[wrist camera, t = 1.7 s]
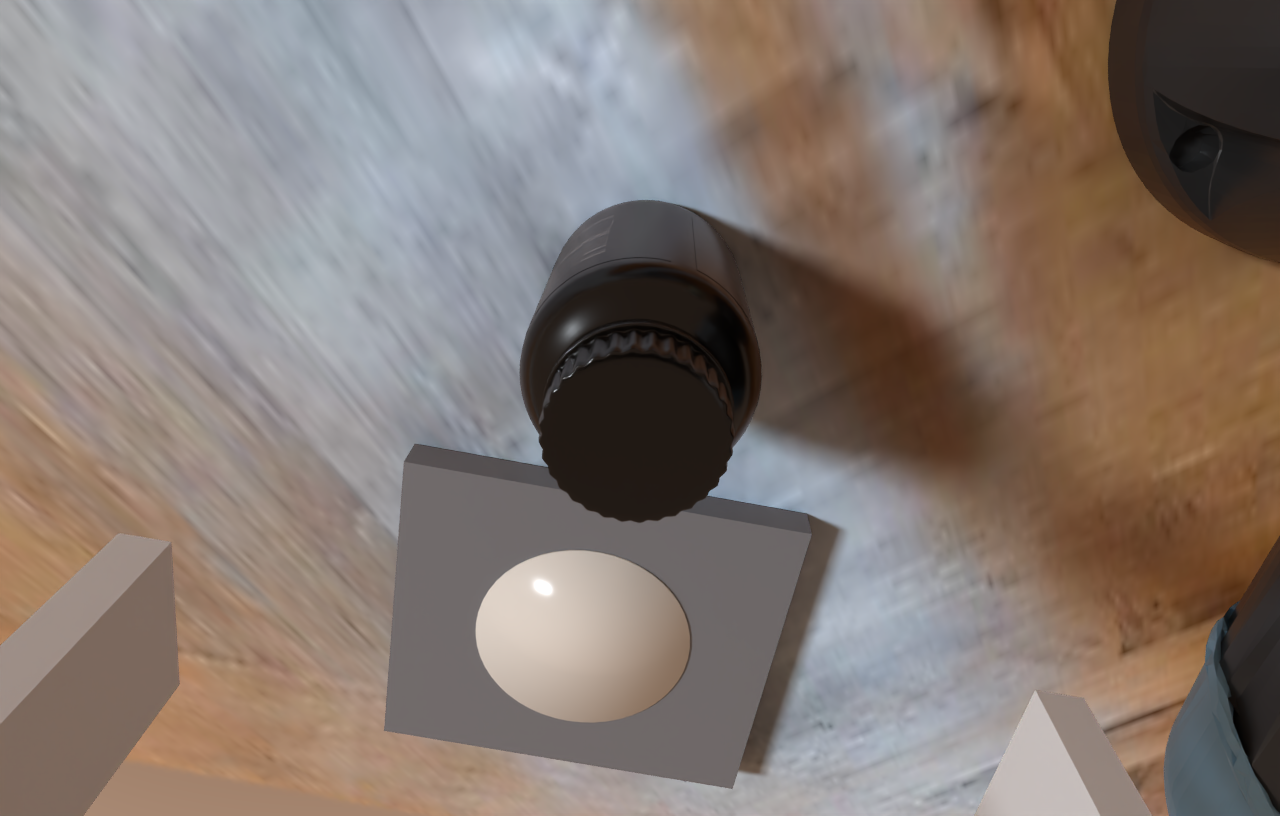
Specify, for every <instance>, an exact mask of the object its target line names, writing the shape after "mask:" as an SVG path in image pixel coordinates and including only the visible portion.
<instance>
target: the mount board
mask: <svg viewBox="0 0 1280 816" xmlns="http://www.w3.org/2000/svg"><path fill="white" fill-rule="evenodd" d="M811 536H812V533H811V529H810V524H809V520H808V516H807V514H804V513H799V512H793V511H788V510H782V509H776V508H771V507H765V506H760V505H754V504H748V503H743V502H737V501H732V500H726V499H720V498H715V497H709V496H707V497H706V498H705V499H703V500H701V501H698V502H696V504H695V505H694V506H693V507H692V508H691V509H688V510H683V511H681V512H680V513H679V514H678V515H676V516H672V517H664V518H663V519H661V520H659V521H651V520H647V521H645V522H642V523H637V522H634V521H625V522H621V521H618V520H617V519H615V518H605V517H602V516H601V515H600V514H599V513H597V512H593V511H588V510H586V509H585V508H584V506H583V505H582V504H580V503H577V502H575V501H572V499H571V498H570V497H569V495H568V493H566V492H564V491H563V490H561V489H560V488H559V486H558V483H557V480H555V479H554V478H553V477H552V476H551V475H550V474H549V469H548V468H547V467H541V466H536V465H530V464H524V463H519V462H513V461H508V460H502V459H496V458H491V457H485V456H480V455H474V454H468V453H463V452H457V451H452V450H446V449H440V448H435V447H429V446H424V445H418V444H414V446H413V448H412V449H411V451H410V453H409V454H408V456H407V458H406V459H405V461H404V469H403V482H402V496H401V509H400V523H399V537H398V550H397V564H396V577H395V591H394V604H393V618H392V632H391V645H390V659H389V672H388V686H387V699H386V713H385V726H384V731H389V732H395V733H401V734H407V735H413V736H419V737H425V738H431V739H437V740H443V741H449V742H455V743H461V744H467V745H473V746H479V747H485V748H491V749H497V750H503V751H509V752H515V753H521V754H527V755H533V756H539V757H545V758H551V759H557V760H563V761H569V762H575V763H581V764H587V765H593V766H599V767H605V768H611V769H617V770H623V771H629V772H635V773H641V774H647V775H653V776H659V777H665V778H671V779H677V780H683V781H689V782H695V783H701V784H707V785H713V786H719V787H725V788H731V789H733V785H734V782H735V779H736V776H737V773H738V769H739V766H740V763H741V760H742V757H743V753H744V750H745V747H746V744H747V741H748V737H749V734H750V731H751V728H752V725H753V721H754V718H755V715H756V712H757V709H758V705H759V702H760V699H761V696H762V693H763V689H764V686H765V683H766V680H767V677H768V673H769V670H770V667H771V664H772V661H773V657H774V654H775V651H776V648H777V645H778V641H779V638H780V635H781V632H782V629H783V625H784V622H785V619H786V616H787V613H788V609H789V606H790V603H791V600H792V597H793V593H794V590H795V587H796V584H797V581H798V577H799V574H800V571H801V568H802V565H803V561H804V558H805V555H806V552H807V548H808V545H809V542H810V539H811Z"/></svg>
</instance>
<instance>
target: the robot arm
mask: <svg viewBox="0 0 1280 816" xmlns="http://www.w3.org/2000/svg"><path fill="white" fill-rule="evenodd" d="M1108 80H1109V91H1110V100H1111V106H1112V112H1113V117H1114V121H1115V124H1116V128H1117V132H1118V135H1119V137H1120V140H1121V143H1122V146H1123V148H1124V150H1125V153H1126V155H1127V157H1128V159H1129V161H1130V163H1131V165H1132V167H1133V168H1134V170H1135V172H1136V174H1137V175H1138V177H1139V178H1140V179H1141V181H1142V182H1143V184H1144V185H1145V187H1146V188H1147V189H1148V190H1149V191H1150V193H1151V194H1152V195H1153V196H1154V197H1155V198H1156V200H1158V201H1159V202H1160V203H1161V204H1162V205H1163V206H1164V207H1165V208H1166V209H1167V210H1168V211H1169V212H1171V213H1172V214H1173V215H1174V216H1176V217H1177V218H1178V219H1179V220H1181V221H1182V222H1184V223H1186V224H1187V225H1189V226H1190V227H1192V228H1194V229H1195V230H1197V231H1199V232H1201V233H1203V234H1205V235H1207V236H1209V237H1212V238H1214V239H1216V240H1218V241H1221V242H1223V243H1225V244H1227V245H1230V246H1232V247H1234V248H1237V249H1239V250H1241V251H1244V252H1246V253H1249V254H1251V255H1254V256H1257V257H1260V258H1264V259H1267V260H1271V261H1275V262H1280V0H1117V1H1116V5H1115V10H1114V15H1113V20H1112V26H1111V34H1110V42H1109V57H1108ZM179 684H180V683H179V666H178V649H177V631H176V614H175V597H174V579H173V562H172V545H171V542H168V541H162V540H157V539H151V538H145V537H139V536H133V535H127V534H121V533H118V534H117V535H116V536H115V537H114V538H113V539H112V540H111V541H110V542H109V543H108V544H107V545H106V546H105V547H104V548H103V549H102V550H100V551H99V552H98V553H97V554H96V555H95V556H94V557H93V558H92V559H91V560H90V561H89V562H88V563H87V564H86V565H85V566H84V567H83V568H81V569H80V570H79V571H78V572H77V573H76V574H75V575H74V576H73V577H72V578H71V579H70V580H69V581H68V582H67V583H66V584H65V585H64V586H63V587H61V588H60V589H59V590H58V591H57V592H56V593H55V594H54V595H53V596H52V597H51V598H50V599H49V600H48V601H47V602H46V603H45V604H44V605H42V606H41V607H40V608H39V609H38V610H37V611H36V612H35V613H34V614H33V615H32V616H31V617H30V618H29V619H28V620H27V621H26V622H25V623H24V624H22V625H21V626H20V627H19V628H18V629H17V630H16V631H15V632H14V633H13V634H12V635H11V636H10V637H9V638H8V639H7V640H6V641H5V642H3V643H2V644H1V645H0V816H84V814H85V813H86V811H87V810H88V809H89V807H90V806H91V805H92V803H93V802H94V801H95V799H96V798H97V796H98V795H99V794H100V792H101V791H102V790H103V788H104V787H105V785H106V784H107V783H108V781H109V780H110V779H111V777H112V776H113V775H114V773H115V772H116V770H117V769H118V767H119V766H120V765H121V764H122V762H123V761H124V760H125V758H126V757H127V755H128V754H129V753H130V751H131V750H132V749H133V747H134V746H135V745H136V743H137V742H138V740H139V739H140V738H141V736H142V735H143V734H144V732H145V731H146V729H147V728H148V727H149V725H150V724H151V723H152V721H153V720H154V719H155V717H156V716H157V714H158V713H159V712H160V710H161V709H162V708H163V706H164V705H165V704H166V702H167V701H168V699H169V698H170V697H171V695H172V694H173V693H174V691H175V690H176V689H177V687H178V686H179ZM1164 784H1165V796H1166V803H1167V808H1168V813H1169V816H1280V536H1279V538H1278V540H1277V541H1276V543H1275V544H1274V546H1273V548H1272V549H1271V551H1270V553H1269V554H1268V556H1267V558H1266V559H1265V561H1264V563H1263V564H1262V566H1261V567H1260V569H1259V571H1258V572H1257V574H1256V576H1255V577H1254V579H1253V581H1252V582H1251V584H1250V586H1249V587H1248V589H1247V590H1246V592H1245V594H1244V595H1243V597H1242V599H1241V600H1240V601H1238V602H1237V603H1236V604H1234V605H1233V606H1232V607H1230V608H1229V610H1228V611H1227V613H1226V614H1225V616H1224V617H1223V618H1221V619H1220V620H1218V621H1217V622H1216V624H1215V625H1214V627H1213V628H1212V630H1211V632H1210V635H1209V639H1208V642H1207V645H1206V656H1205V664H1204V666H1203V667H1202V669H1201V671H1200V673H1199V675H1198V677H1197V679H1196V681H1195V683H1194V685H1193V687H1192V689H1191V691H1190V693H1189V694H1188V696H1187V698H1186V700H1185V702H1184V704H1183V706H1182V708H1181V710H1180V712H1179V714H1178V716H1177V718H1176V720H1175V722H1174V724H1173V726H1172V729H1171V732H1170V735H1169V739H1168V742H1167V746H1166V752H1165V761H1164ZM974 816H1152V815H1151V813H1150V811H1149V810H1148V808H1147V806H1146V804H1145V803H1144V801H1143V799H1142V798H1141V796H1140V794H1139V792H1138V791H1137V789H1136V787H1135V785H1134V784H1133V782H1132V780H1131V779H1130V777H1129V775H1128V773H1127V772H1126V770H1125V768H1124V767H1123V765H1122V763H1121V761H1120V760H1119V758H1118V756H1117V754H1116V753H1115V751H1114V749H1113V748H1112V746H1111V744H1110V742H1109V741H1108V739H1107V737H1106V735H1105V734H1104V732H1103V730H1102V729H1101V727H1100V725H1099V723H1098V722H1097V720H1096V718H1095V717H1094V715H1093V713H1092V711H1091V710H1090V708H1089V706H1088V704H1087V703H1086V701H1085V699H1084V698H1080V697H1075V696H1069V695H1063V694H1057V693H1051V692H1045V691H1040V690H1035V692H1034V694H1033V696H1032V698H1031V700H1030V702H1029V704H1028V706H1027V708H1026V710H1025V712H1024V714H1023V716H1022V718H1021V720H1020V723H1019V725H1018V727H1017V729H1016V731H1015V733H1014V735H1013V737H1012V739H1011V741H1010V743H1009V745H1008V747H1007V749H1006V751H1005V753H1004V756H1003V758H1002V760H1001V762H1000V764H999V766H998V768H997V770H996V772H995V774H994V776H993V778H992V780H991V782H990V784H989V786H988V789H987V791H986V793H985V795H984V797H983V799H982V801H981V803H980V805H979V807H978V809H977V811H976V813H975V815H974Z"/></svg>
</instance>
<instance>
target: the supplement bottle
mask: <svg viewBox="0 0 1280 816" xmlns="http://www.w3.org/2000/svg"><path fill="white" fill-rule="evenodd" d="M761 379H762V373H761V359H760V351H759V346H758V342H757V338H756V334H755V330H754V326H753V323H752V319H751V315H750V311H749V307H748V304H747V300H746V296H745V292H744V288H743V285H742V281H741V277H740V273H739V270H738V267H737V265H736V262H735V259H734V257H733V255H732V253H731V251H730V249H729V247H728V246H727V244H726V242H725V241H724V240H723V238H722V237H721V236H720V234H719V233H718V232H717V231H716V230H715V229H714V228H713V227H712V226H711V225H710V224H709V223H708V222H706V221H705V220H704V219H703V218H701V217H700V216H698V215H697V214H695V213H693V212H691V211H690V210H687V209H685V208H683V207H681V206H678V205H674V204H671V203H667V202H662V201H654V200H638V201H630V202H624V203H621V204H617V205H614V206H611V207H609V208H606V209H604V210H602V211H600V212H598V213H597V214H595V215H594V216H592V217H591V218H589V219H588V220H587V221H585V222H584V223H583V224H582V225H581V226H580V227H579V228H578V229H577V230H576V231H575V232H574V233H573V234H572V236H571V237H570V238H569V239H568V241H567V242H566V244H565V245H564V247H563V249H562V251H561V253H560V254H559V256H558V259H557V260H556V263H555V265H554V267H553V270H552V272H551V275H550V277H549V279H548V282H547V284H546V287H545V289H544V292H543V294H542V296H541V299H540V301H539V304H538V306H537V308H536V311H535V313H534V316H533V318H532V321H531V323H530V326H529V328H528V331H527V333H526V337H525V340H524V344H523V348H522V353H521V359H520V385H521V392H522V396H523V400H524V404H525V407H526V410H527V412H528V415H529V417H530V419H531V421H532V423H533V425H534V427H535V428H536V430H537V432H538V433H539V443H540V445H541V447H542V449H543V451H542V459H543V460H544V461H545V463H546V464H547V465H548V469H549V474H550V475H551V476H552V477H553V478H554V479H555V480H557V483H558V486H559V488H560V489H561V490H563V491H564V492H566V493H568V495H569V497H570V498H571V499H572V501H575V502H577V503H580V504H582V505H583V506H584V508H585V509H586V510H588V511H593V512H597V513H599V514H600V515H601V516H602V517H605V518H615V519H617V520H618V521H621V522H625V521H634V522H637V523H642V522H645V521H647V520H651V521H659V520H661V519H663V518H664V517H672V516H676V515H678V514H679V513H680V512H681V511H683V510H688V509H691V508H692V507H693V506H694V505H695V504H696V502H698V501H701V500H703V499H705V498H706V497H707V495H708V493H709V491H710V490H712V489H713V488H715V487H716V486H718V483H719V478H720V477H721V476H722V475H723V474H724V473H725V472H726V471H727V462H728V460H729V459H730V457H731V456H732V454H733V447H734V446H735V444H736V443H737V442H738V441H739V440H740V438H741V437H742V435H743V434H744V432H745V431H746V429H747V427H748V425H749V424H750V422H751V420H752V417H753V415H754V412H755V410H756V407H757V403H758V400H759V395H760V390H761Z"/></svg>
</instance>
